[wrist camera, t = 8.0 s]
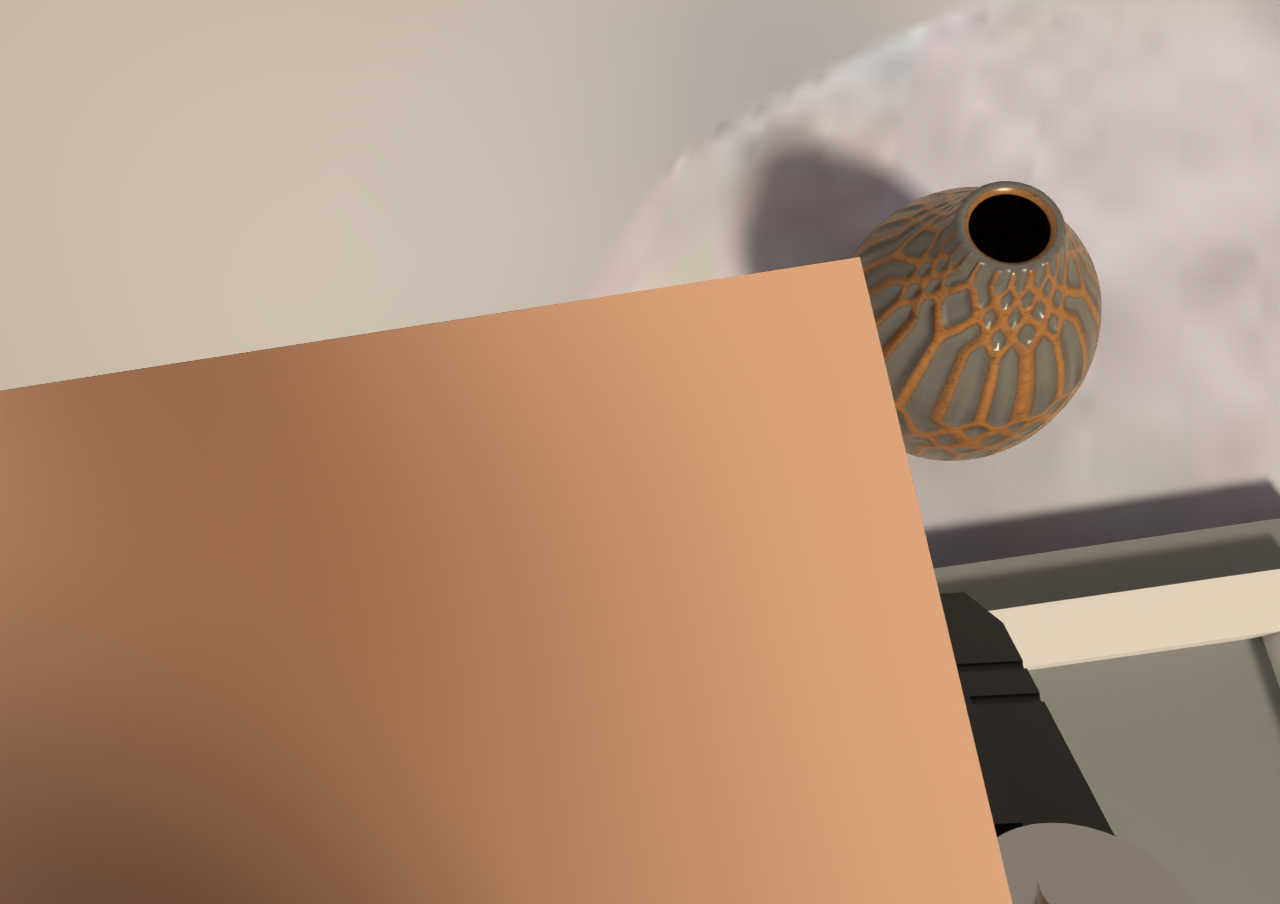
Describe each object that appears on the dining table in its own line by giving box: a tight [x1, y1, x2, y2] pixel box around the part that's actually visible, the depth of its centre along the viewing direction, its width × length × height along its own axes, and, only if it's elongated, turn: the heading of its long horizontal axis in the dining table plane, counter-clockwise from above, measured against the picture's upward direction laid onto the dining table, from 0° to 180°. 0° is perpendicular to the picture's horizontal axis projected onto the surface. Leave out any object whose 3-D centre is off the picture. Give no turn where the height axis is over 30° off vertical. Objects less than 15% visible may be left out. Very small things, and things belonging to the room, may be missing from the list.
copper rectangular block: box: [0, 257, 1013, 904], centre depth 9 cm, size 5×5×10 cm
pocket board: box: [934, 518, 1280, 904], centre depth 24 cm, size 14×14×3 cm
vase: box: [851, 181, 1101, 461], centre depth 26 cm, size 7×7×9 cm
